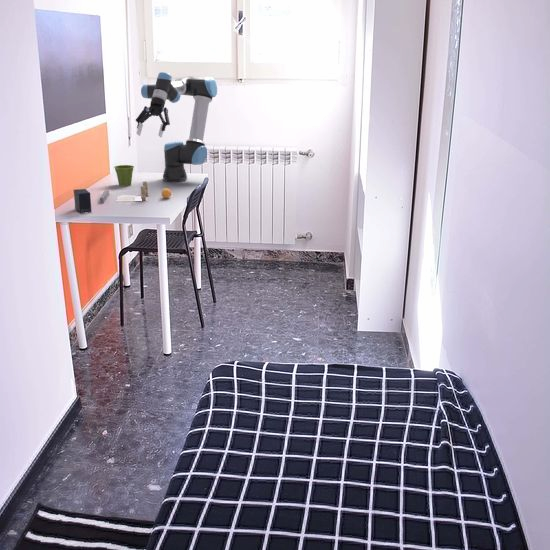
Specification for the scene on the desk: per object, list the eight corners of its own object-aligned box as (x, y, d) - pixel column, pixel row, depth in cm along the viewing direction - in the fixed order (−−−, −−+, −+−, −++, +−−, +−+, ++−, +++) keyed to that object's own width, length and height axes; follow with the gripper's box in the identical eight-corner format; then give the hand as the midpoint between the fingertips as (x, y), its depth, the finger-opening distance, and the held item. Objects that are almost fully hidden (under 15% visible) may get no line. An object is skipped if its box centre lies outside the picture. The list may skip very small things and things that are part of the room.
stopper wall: (105, 194, 378) (105, 189, 377) (109, 194, 378) (108, 189, 377) (100, 203, 359) (99, 197, 358) (103, 203, 359) (103, 197, 358)
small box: (92, 212, 342) (90, 192, 338) (79, 213, 339) (77, 193, 335) (87, 207, 351) (85, 188, 347) (74, 209, 348) (72, 189, 344)
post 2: (141, 200, 366) (140, 186, 363) (146, 200, 366) (145, 186, 363) (141, 201, 364) (140, 187, 361) (145, 201, 364) (145, 187, 361)
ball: (162, 197, 374) (161, 187, 372) (171, 197, 374) (171, 187, 372) (161, 199, 369) (160, 189, 367) (171, 199, 369) (170, 189, 367)
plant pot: (137, 186, 399) (135, 167, 395) (117, 187, 395) (115, 169, 391) (133, 182, 409) (132, 164, 405) (113, 183, 405) (112, 165, 401)
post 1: (144, 195, 377) (143, 181, 375) (148, 195, 378) (147, 181, 375) (143, 196, 375) (142, 182, 372) (147, 196, 375) (147, 182, 373)
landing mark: (119, 195, 376) (119, 195, 376) (144, 195, 377) (144, 195, 377) (115, 201, 363) (115, 201, 363) (141, 201, 364) (141, 201, 364)
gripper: (135, 95, 365) (125, 130, 361) (175, 97, 356) (166, 133, 352) (142, 101, 372) (132, 136, 368) (181, 104, 363) (172, 139, 359)
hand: (149, 135), depth 360 cm, fingers open, 13 cm apart
